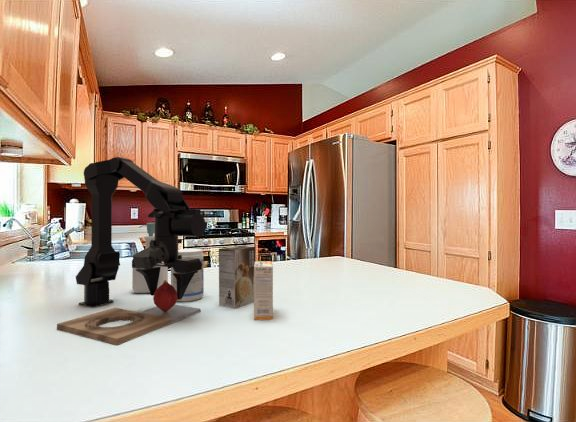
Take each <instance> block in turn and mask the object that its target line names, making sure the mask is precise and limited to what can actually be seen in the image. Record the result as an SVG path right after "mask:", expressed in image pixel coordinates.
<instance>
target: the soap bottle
mask: <svg viewBox="0 0 576 422" xmlns="http://www.w3.org/2000/svg"><path fill="white" fill-rule="evenodd" d="M143 227H146V232H147V235H145V236H143V239H144V240H145V248H144V249H146V248H148V247H149V246H150V242H151V240H154V222H147V223H146V224H143V225H139V227H138V228H139V229H140V228H143ZM162 263H164V262H162ZM158 267H161V269H160V274H159V280H158V285H157V288H158V287H160V286H161V285H162V284H163V282H164V280H166V281H167V282H168V283H169V281H168V280H169V278H168V277H169V274H168V273H169V272H168V271H169V270H168V269H169V267H162V266H158ZM135 269H137V268H132V274H131V275H132V281H131V283H132V284H131V285H132V291H133V292H134V293H135V294H150V291H149V289H148V286H147V283H146V280H145V278H144V276H143V275H142V274H141V273H140V272H138V271H136V270H135Z"/></svg>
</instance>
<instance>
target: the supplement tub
mask: <svg viewBox="0 0 576 422" xmlns="http://www.w3.org/2000/svg"><path fill="white" fill-rule="evenodd" d="M178 255H182V259H185V258H198V259H200V260H201V262H202V270H198V273H195V274H194V276H193V277H192V279H191V281H190V283H189V285H188V287H187V289H186V291H185V293H184V295H183V297H182V299H180V300H177V302H179V303H180V302H182V303H184V302H193V301H197V300H200V299H202V298H203V297H204V293H205V291H204V289H205V288H204V285H205V284H204V251H203V249H202V248H178ZM173 273H177V272H175V271H174V269H173V267H170V285H172V286H173V287H174V288H175V290H176V291H177V280H176V278H175V276H174V275H173Z"/></svg>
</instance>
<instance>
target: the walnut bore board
mask: <svg viewBox="0 0 576 422" xmlns="http://www.w3.org/2000/svg"><path fill="white" fill-rule="evenodd" d="M119 320H123V321H129V320H130V322H128V323H126V324H125V323H124V324H122V325H117V326H101V325H104V324H107V323H108V324H109V323H112V322H119ZM171 324H173V323H172V318H168V317H163V316H157V315H152V314H147V313H141V311H135V310H130V309H124V308H119V307H112V308H109V309H104V310H102V311H97V312H94V313H91V314H87V315H83V316H81V317H77V318H76V317H75V318H72V319H70V320H66V321H63V322H59V323H56V330H58V331H61V332H65V333H70V334H74V335H78V336H80V337H84V338H85V337H86V338H89V339H92V340H97V341H100V342H104V343H108V344H111V345H116V346H118V345H120V344H121V345H122V344H124V343H127V342H129V341H132V340H133V339H134V340H135V339H136V338H139V337H142V336H144V335H147V334H149V333H151V332H153V331H156V330H159V329H161V328H163V327H166V326H168V325H171Z"/></svg>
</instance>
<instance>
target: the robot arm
mask: <svg viewBox="0 0 576 422" xmlns="http://www.w3.org/2000/svg"><path fill="white" fill-rule="evenodd" d="M83 177H84V186H85V188H86V189H87V191H88V192H89V193H90V195H91V239H90V240H91V244H90V245H91V246H90V247H89V249H88V251H87V253H86V254H85V255H84V259H83V265H82V267H81V269H80V270H79V272H78V273H77V274H76V275H75V282H76V285H80V286H84V287H83V288H84V289H83V290H84V291H83V294H84V295H83V297H84V299H83V301H82V302H78V306H79V305H80V306H83V307H88V308H96V307H99V306H102V305H103V306H104V305H107V304H111V303H115V300H114V299H111V298H110V282H109V281H116V278H117V275H118V271H119V268H120V266H121V262H120V256H121V254H120V252H119V251H116V250H115V248H114V247H113V246H112V245H113V242H112V239H113V238H112V237H113V234H112V233H113V230H112V227H113V226H112V224H113V219H112V217H113V215H112V214H113V213H112V212H113V209H112V208H113V205H112V203H113V202H112V201H113V195H114V193H115V191H116V190H117V189H118V187H119V181H121V180H123V179H125V180H127V181H129V182H130V183H131V184H132V185H134V186H135V187H136V188H137V189H139V190H140V191H142V192H143V194H144V195H145V196H144V197H145V199H146V201H147V202H148V203H149V204H150V205H151V207H152V208H153V210H152V211H151V212H149V214H147V218H149V219H150V218H151V219H154V222H153V223H154V234H153V236H154V240H151V242H150V246H149V247H148V248H146V249H145V248H144V249H141V250H140V251H138V252H136V253H134V254H133V255H132V260H131V268H132V269H133V268H137V269H135V270H136V271H138V272H140V273H141V274H142V275H143V276H144V278H145V280H146V283H147V286H148V289H149V291H150V293H149V294H150V296H154V293H155V291H156V290H157V285H158V280H159V274H160V269H161V267H158V266H162V267H168V268H171V267H173V269H174V271H175V272H177V273H173V275H174V276H175V278H176V280H177V298H178V300H180V299H182V297H183V295H184V293H185V291H186V289H187V287H188V285H189V283H190V281H191V279H192V277H193V276H194V274H195V273H198V270H202V262H201V260H200V259H198V258H185V259H182V255H178V250H179V244H182V243H183V242H182V241H183V239H181V238H179V237H192V238H193V237H197V238H199V237H201V236H202V235H203V236H204V234H205V231H206V228H207V222H206V219H205V216H204V215H203V214H202V213H201V209H200V208H190V207H189V204H188V203H187V201H186V200H185V198H184V197H183V192H182V190H181V189H180V188H179V187H176V186H174V185H172V184H169V183H166V182H162V181H160V180H158V179H156V177H154V176H152V175H151V174H150V173H148V172H147V171H146V170H144V169H143V168H141V167H140V166H138V165H137V164H136V163H135V162H134V161H133V160H131V159H130V158H126V157H125V158H124V157H120V156H114V157H112V158H110V159H106V160H100V161H95V162H90V163H89V164H88V165H87V166H86V167H85V168H84V170H83ZM162 262H164V263H162Z"/></svg>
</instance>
